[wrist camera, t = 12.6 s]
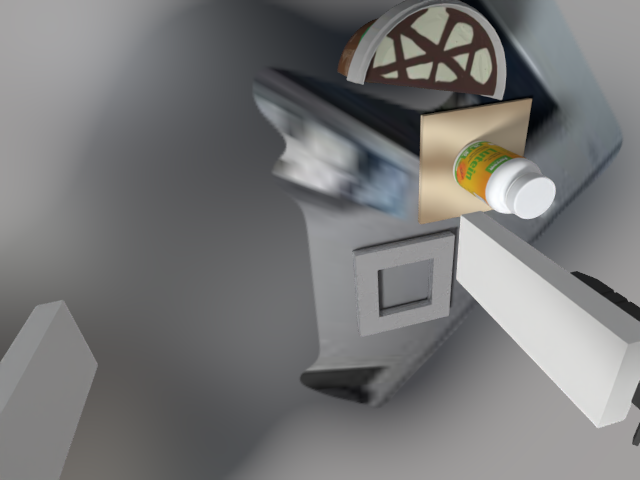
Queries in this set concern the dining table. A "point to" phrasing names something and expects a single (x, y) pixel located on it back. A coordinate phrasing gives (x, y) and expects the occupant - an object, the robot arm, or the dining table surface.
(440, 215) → the oak pad
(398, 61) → the food container
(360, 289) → the grey square frame
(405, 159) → the dining table surface
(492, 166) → the supplement bottle
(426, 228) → the dining table surface
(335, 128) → the dining table surface
